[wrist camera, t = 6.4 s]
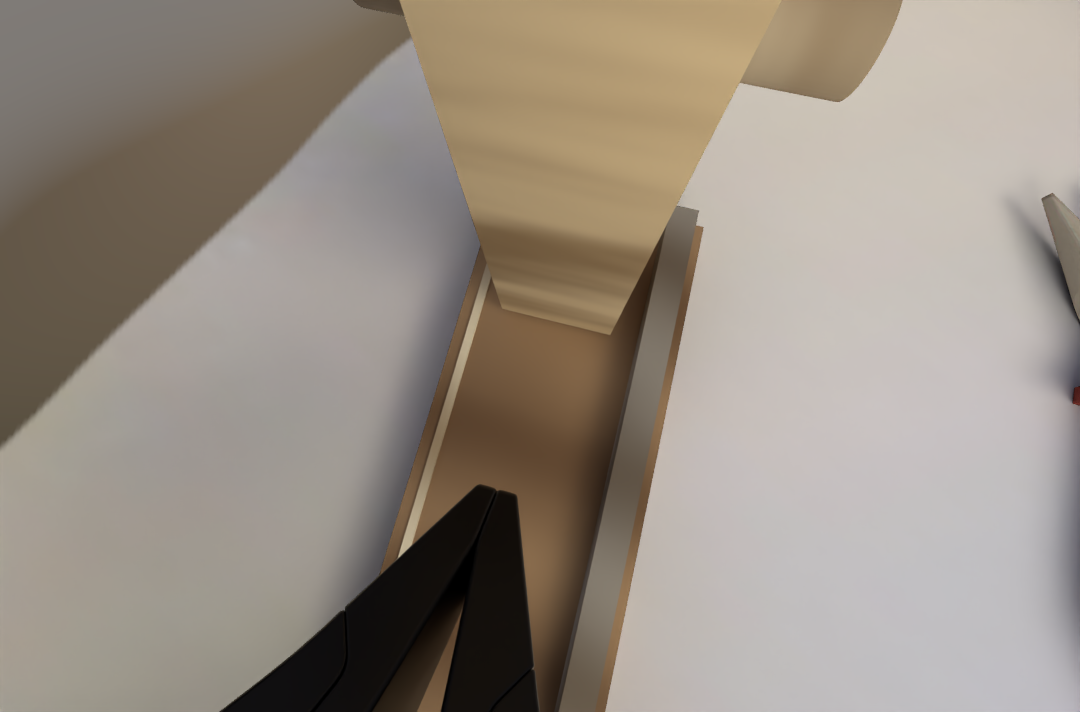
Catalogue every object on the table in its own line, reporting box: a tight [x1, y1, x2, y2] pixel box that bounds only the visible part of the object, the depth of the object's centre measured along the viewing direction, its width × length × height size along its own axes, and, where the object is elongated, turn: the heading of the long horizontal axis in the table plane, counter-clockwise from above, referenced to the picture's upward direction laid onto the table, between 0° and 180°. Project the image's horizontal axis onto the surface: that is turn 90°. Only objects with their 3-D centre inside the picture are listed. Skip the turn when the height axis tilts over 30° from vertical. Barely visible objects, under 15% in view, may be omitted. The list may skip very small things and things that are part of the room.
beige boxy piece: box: [354, 0, 902, 335], centre depth 10 cm, size 5×8×15 cm, turn 75°
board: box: [379, 206, 703, 712], centre depth 16 cm, size 21×8×2 cm, turn 165°
